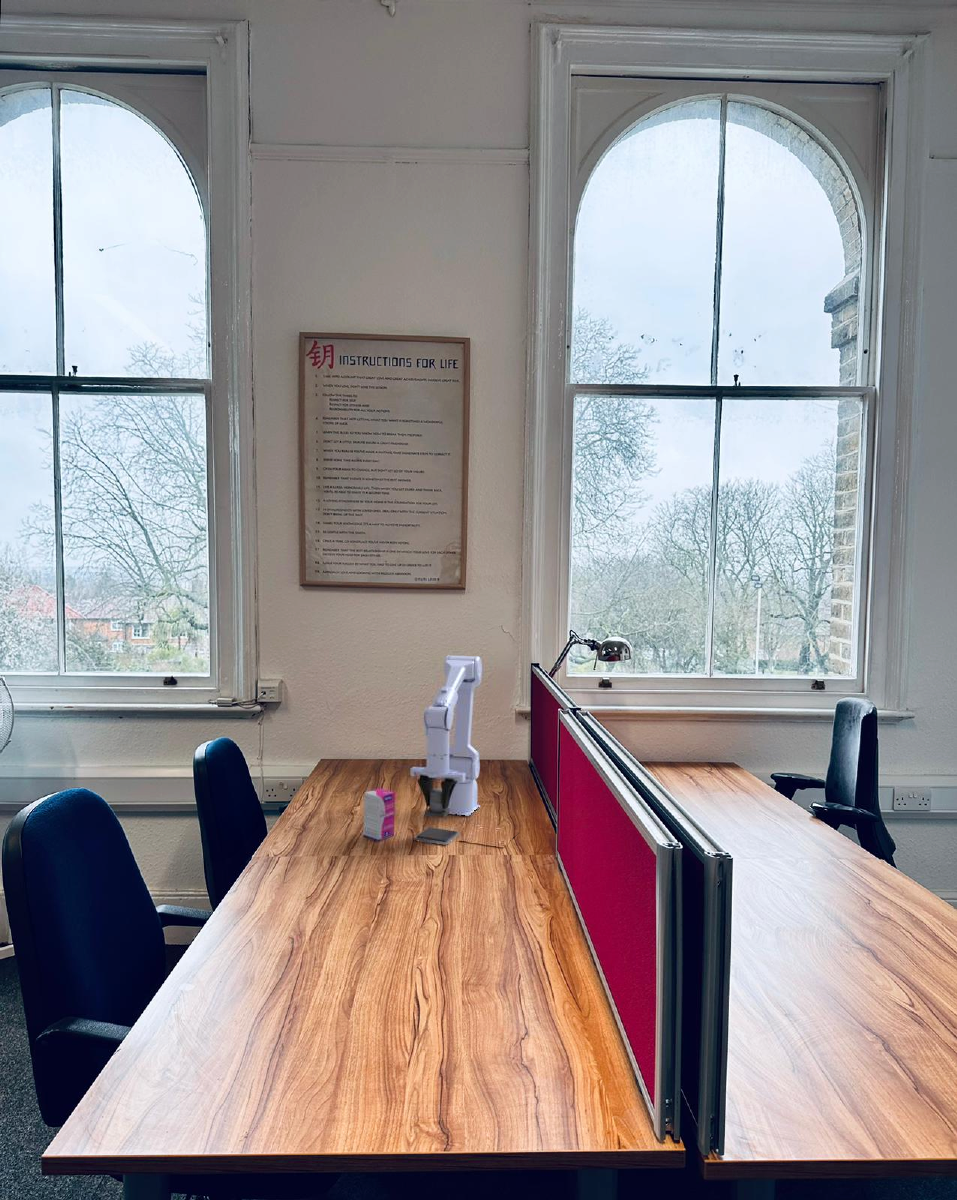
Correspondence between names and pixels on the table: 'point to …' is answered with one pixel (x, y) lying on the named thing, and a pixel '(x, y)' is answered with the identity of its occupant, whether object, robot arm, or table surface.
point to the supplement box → (379, 814)
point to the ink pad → (436, 836)
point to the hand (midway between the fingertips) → (437, 806)
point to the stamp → (436, 804)
